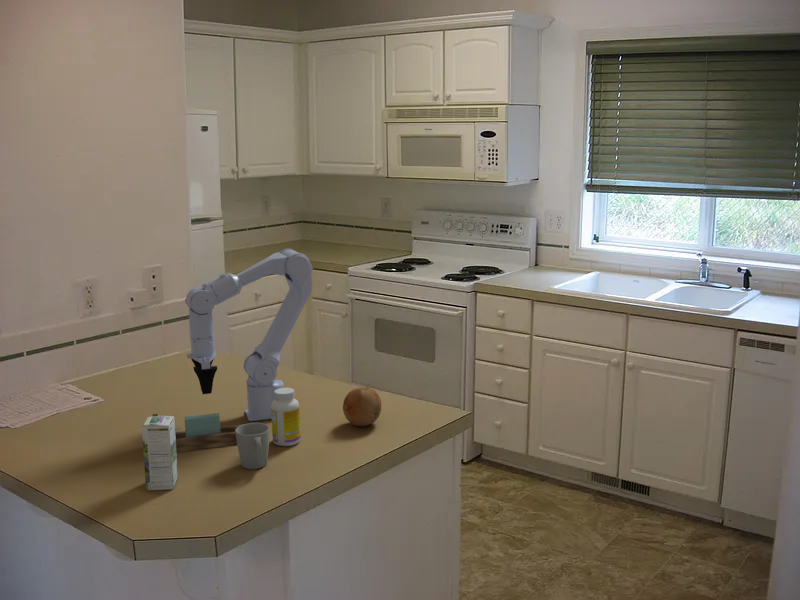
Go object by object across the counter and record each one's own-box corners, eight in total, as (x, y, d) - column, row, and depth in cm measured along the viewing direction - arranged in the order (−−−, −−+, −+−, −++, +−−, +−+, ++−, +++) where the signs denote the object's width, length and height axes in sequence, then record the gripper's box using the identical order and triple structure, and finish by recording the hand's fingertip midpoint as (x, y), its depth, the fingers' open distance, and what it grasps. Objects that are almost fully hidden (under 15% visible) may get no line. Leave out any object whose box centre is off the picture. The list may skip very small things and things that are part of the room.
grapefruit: (356, 415, 217) (355, 378, 215) (389, 421, 213) (388, 384, 210) (335, 427, 209) (334, 389, 207) (369, 434, 204) (368, 395, 202)
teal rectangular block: (220, 436, 203) (218, 413, 201) (221, 439, 201) (219, 415, 200) (186, 440, 200) (184, 416, 199) (186, 443, 199) (184, 419, 197)
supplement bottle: (305, 438, 203) (303, 387, 200) (293, 448, 196) (291, 396, 194) (280, 435, 205) (278, 385, 202) (267, 445, 199) (265, 393, 196)
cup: (266, 455, 193) (265, 420, 191) (278, 472, 184) (276, 435, 182) (233, 461, 190) (231, 425, 188) (243, 478, 181) (241, 441, 179)
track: (243, 431, 207) (242, 404, 206) (247, 443, 200) (246, 415, 198) (154, 442, 201) (152, 414, 200) (155, 454, 194) (152, 426, 192)
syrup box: (151, 479, 181) (146, 416, 178) (179, 478, 181) (174, 414, 178) (145, 491, 175) (140, 425, 172) (174, 489, 176) (169, 424, 173)
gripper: (184, 330, 213) (187, 381, 216) (187, 345, 200) (191, 399, 203) (212, 328, 215) (215, 378, 218) (217, 342, 202) (220, 396, 205)
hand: (205, 388), depth 210 cm, fingers open, 7 cm apart
